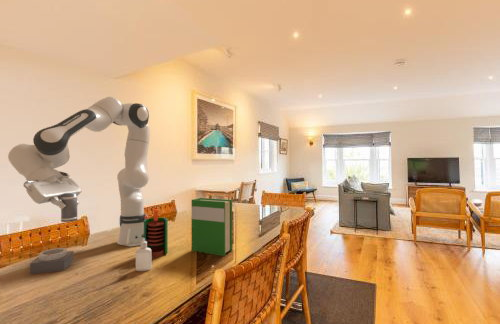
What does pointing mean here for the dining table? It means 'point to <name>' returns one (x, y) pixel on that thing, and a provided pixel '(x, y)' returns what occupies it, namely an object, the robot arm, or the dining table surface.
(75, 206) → the lens
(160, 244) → the motor
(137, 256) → the eye dropper bottle
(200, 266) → the dining table surface
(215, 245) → the hardback book
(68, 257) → the grey holder base
